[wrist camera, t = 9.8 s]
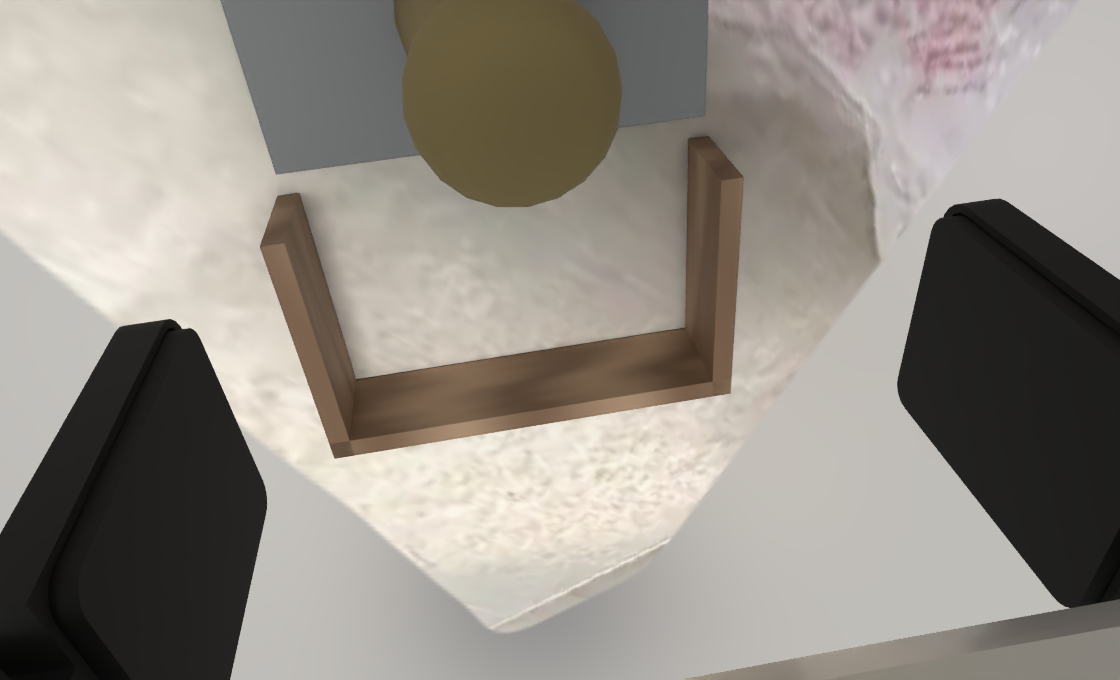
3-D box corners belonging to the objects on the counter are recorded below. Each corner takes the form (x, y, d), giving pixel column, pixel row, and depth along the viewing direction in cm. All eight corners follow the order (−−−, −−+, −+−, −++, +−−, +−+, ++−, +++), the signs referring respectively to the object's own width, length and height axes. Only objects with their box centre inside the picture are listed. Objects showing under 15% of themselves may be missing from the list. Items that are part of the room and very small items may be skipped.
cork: (443, -134, 23) (459, -93, 14) (607, -26, 26) (708, 66, 17) (363, 47, 26) (334, 178, 17) (519, 130, 28) (565, 282, 19)
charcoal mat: (709, -169, 24) (713, -169, 24) (701, 112, 29) (704, 115, 29) (188, -113, 23) (184, -112, 23) (277, 170, 28) (275, 174, 28)
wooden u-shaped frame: (708, 136, 30) (743, 177, 27) (702, 339, 36) (730, 393, 32) (277, 196, 29) (259, 246, 26) (342, 396, 34) (334, 458, 31)
